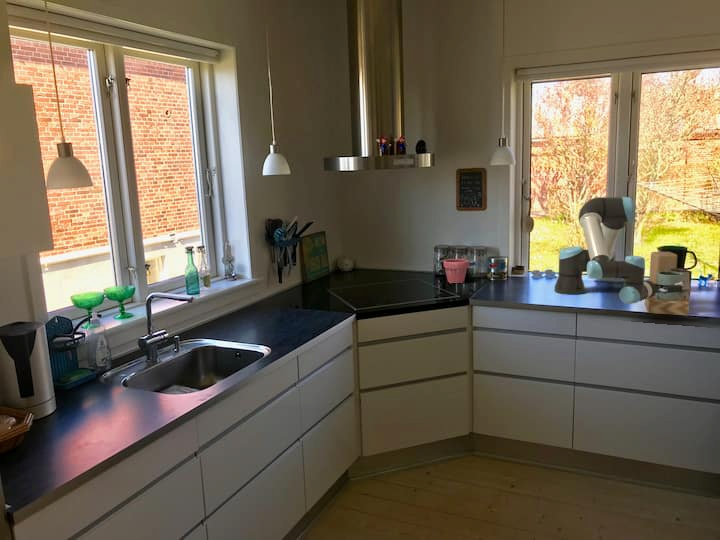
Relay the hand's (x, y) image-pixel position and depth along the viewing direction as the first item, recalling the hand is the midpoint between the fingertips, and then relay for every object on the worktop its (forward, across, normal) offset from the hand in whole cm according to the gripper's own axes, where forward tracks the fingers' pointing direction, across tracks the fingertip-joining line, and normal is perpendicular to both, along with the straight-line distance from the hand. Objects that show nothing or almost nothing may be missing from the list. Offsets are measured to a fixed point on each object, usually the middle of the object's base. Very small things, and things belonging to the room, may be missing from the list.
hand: (665, 283), depth 269 cm
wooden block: (+42, -19, -13) cm, 48 cm away
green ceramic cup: (+3, 0, -8) cm, 8 cm away
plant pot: (-13, -111, -13) cm, 112 cm away
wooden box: (+3, 0, -13) cm, 13 cm away
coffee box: (+20, -2, -13) cm, 24 cm away
